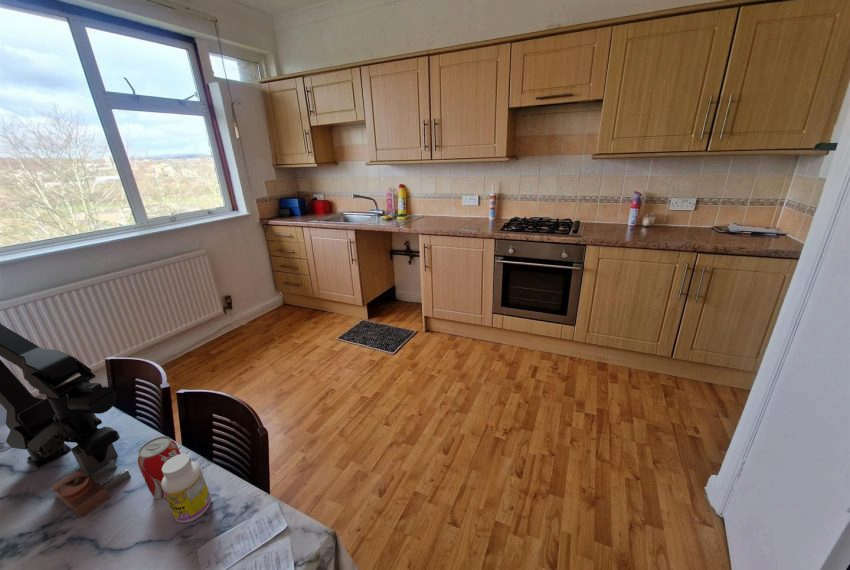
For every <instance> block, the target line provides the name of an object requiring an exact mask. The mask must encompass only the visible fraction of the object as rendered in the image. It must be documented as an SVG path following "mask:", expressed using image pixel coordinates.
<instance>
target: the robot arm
mask: <svg viewBox="0 0 850 570" xmlns="http://www.w3.org/2000/svg"><path fill="white" fill-rule="evenodd" d="M0 357H2V359H5V360H7V361H8V362H10V363H12V364H13V365H15V366H17V367H18V368H19V369H21V370H22V374H23V378H24V380H25V381H27V382H28V384H29V385H30V386H31V387H32V388H34V389H36V390H37V391H38V394H40V395H45V397H46V398H41V397H37V396H34V395H33V394H32V393H31V391H29V389H27V387H26V386H25V385H24V384H23V383H22V382H21V381H20V380H19V378H18V377H17V376H16V375H15V374H14V373H13V371H12V370H11V369H10V368H9V367H8V366H7V365H6V364H5V363H4V362H3V360H2V359H1V358H0V405H1V406H2V407H3V408H4V409H5V410H6V417H5V425H6V427H7V428H8V429H9V433H8V435H7V437H6V440H5V443H6V444H7V445H8V446H9V447H10V448H12V449H17V450H26V451H27V453H28V455H29V456H28V457H27V458H26V460H27V461H28V462H29V463H30V464H31V465H33V466H34V467H35V468H37V469H39V468H40V467H42V466H44V465H46V464H48V463H49V462H51V461H53V460H55V459H57V458H59V457H60V456H62V455H64V454H65V453H67V452H69V451H71V448H72V447H71V446H70V445H68V444H66V443H75V444H77V445H76V446H78V448H77V450H78V451H80V452H81V453H83V454H84V455H86V456H87V457H88V456H93V457H94V458H95V459H96V460H97V461H98V462H99V463H101V462H103V461H104V460H105V458H106V454H107V449H108V446H109V445H110V444H114V443H115V442H117V441H119V440H120V439H121V436H120V434H119V432H118V430H116V429H114V428H113V427H111V426H103V427H101V428H100V429H99V427H98V426H100V425H102V424H103V421H102V420H101V418H99V417H97V415H98V414H99V415H100V414H104V413H106V412H108V411H109V410H111V409H112V408H113V407H114V405H116V402H117V400H118V399H117V398H118V393H117V391H116V390H115V389H114V388H112V387H109V386H103V385H102V383H101V382H90V381H91V380H92V379H95V378H96V377H97V376H96V374H95V373H94V372H92V369H91V368H90V367H89V366H87V365H86V364H84V363H83V362H81V361H80V360H79V359H77V358H76V356H73V355H70V354H69V353H66V352H64V351H62V350H59V349H50V348H49V349H47V348H43V347H41V346H39V345H37V344H35V342H32V341H30V340H29V339H27V338H25V337H23V336H22V335H20V334H18V333H17V332H15V331H14V330H12V329H11V328H8V327H7V326H6V325H3V324H2V323H1V322H0ZM78 375H79V376H78ZM76 376H77V377H76ZM74 377H75V378H74ZM72 378H73V379H72ZM70 379H72V380H70ZM65 442H66V443H65Z"/></svg>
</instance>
